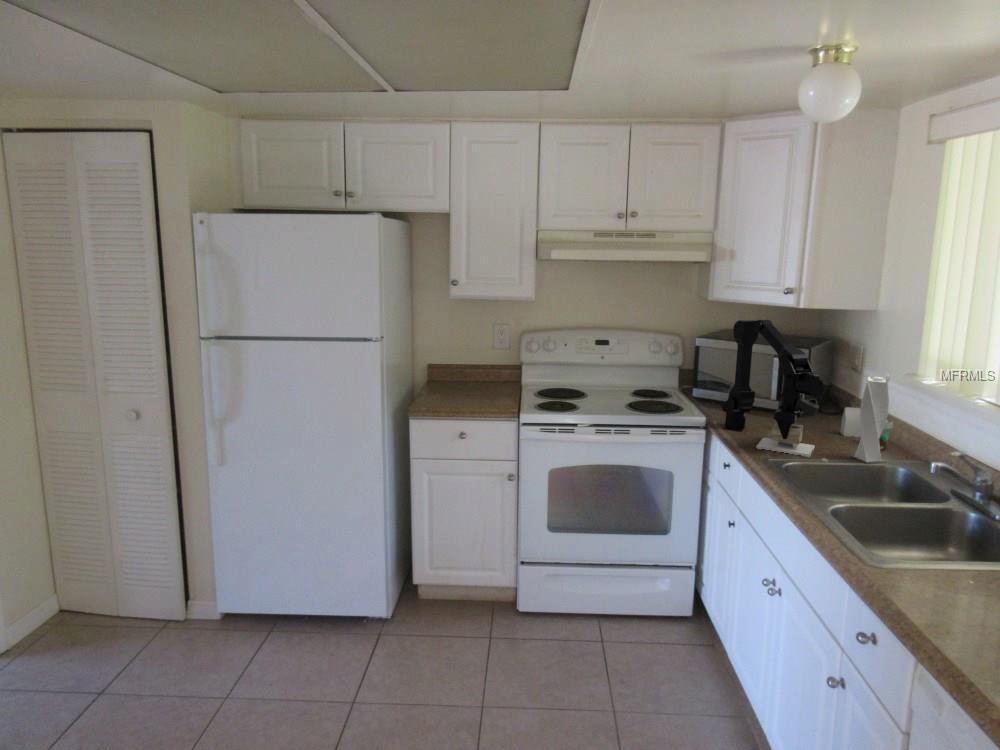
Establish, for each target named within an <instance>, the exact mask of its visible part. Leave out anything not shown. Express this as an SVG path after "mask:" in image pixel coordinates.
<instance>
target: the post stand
mask: <svg viewBox="0 0 1000 750" xmlns="http://www.w3.org/2000/svg"><path fill="white" fill-rule="evenodd" d="M756 448H757V450H761V449H766V450H765V451H767V450H772V451H771V452H773V451H778V452H777V453H779V452H784V453H783V454H785V453H789V454H788V455H791V454H794V455H793V456H797V455H801V456H800V457H803V456H804V458H810V457H811V455H812V454H813V452H814V449H816V448H815V445H814V444H808V443H802V442H800V444H799V445H796V444H790V443H784V442H777V441H771V437H763V438H762V439H761V440H760V441H759V442H758V444H757V445H756ZM812 451H813V452H812ZM811 453H812V454H811Z"/></svg>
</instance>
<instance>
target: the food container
mask: <svg viewBox="0 0 1000 750" xmlns="http://www.w3.org/2000/svg"><path fill="white" fill-rule="evenodd" d="M893 428H894V422H893V420H892V419H891V418H889V417H887V419H886V423H885V426H884V429H883V431H882V434H881V436H880V438H879V444H880V452H884V451H886V450H887V447H888V444H889V439H890V434H891V431H892V430H891V429H893Z"/></svg>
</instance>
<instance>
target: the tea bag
mask: <svg viewBox="0 0 1000 750" xmlns="http://www.w3.org/2000/svg"><path fill="white" fill-rule="evenodd" d="M860 408H861V407H847V406H846V407H844V410H843V413H842V417H841V424H840V425H841V426H840V431H839V433H840V435H842V436H843V435H844V436H843V437H851V436H854V437H855V438H861V430H860Z"/></svg>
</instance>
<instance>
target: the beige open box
mask: <svg viewBox="0 0 1000 750" xmlns="http://www.w3.org/2000/svg"><path fill="white" fill-rule="evenodd" d="M803 431H804V425H802V424H796V423H794V424H792V425H791V427H790V430H789V433H788V437H787V439H783V437H782V435H781V432H780V429H779V426H778V424H777V421H775V422H774V423H773V425H772V428H771V437H770V438H771V441H777V442H784V443H790V444H796V445H799V444H800V443H802V440H803Z"/></svg>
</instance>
